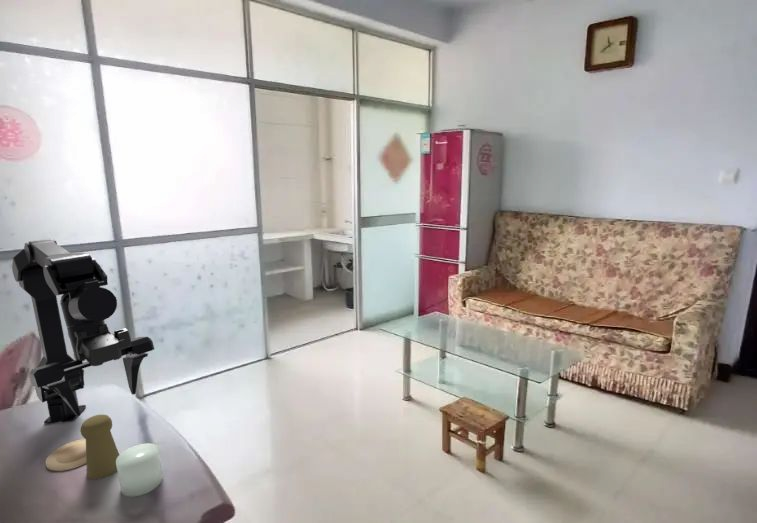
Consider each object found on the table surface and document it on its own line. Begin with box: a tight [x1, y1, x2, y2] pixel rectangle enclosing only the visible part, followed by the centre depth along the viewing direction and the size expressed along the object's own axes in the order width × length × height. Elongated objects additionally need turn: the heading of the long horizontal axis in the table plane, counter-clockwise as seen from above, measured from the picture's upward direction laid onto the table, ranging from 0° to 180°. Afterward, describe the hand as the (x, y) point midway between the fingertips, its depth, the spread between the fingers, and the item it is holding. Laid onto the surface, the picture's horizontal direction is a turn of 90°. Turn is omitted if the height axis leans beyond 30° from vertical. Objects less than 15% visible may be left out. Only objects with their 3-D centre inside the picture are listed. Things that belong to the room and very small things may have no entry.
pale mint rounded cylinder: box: [116, 442, 164, 498], centre depth 81 cm, size 7×7×6 cm
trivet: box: [45, 437, 86, 472], centre depth 91 cm, size 10×10×1 cm
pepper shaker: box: [80, 414, 120, 480], centre depth 85 cm, size 6×6×11 cm
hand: (107, 404), depth 80 cm, fingers open, 9 cm apart
